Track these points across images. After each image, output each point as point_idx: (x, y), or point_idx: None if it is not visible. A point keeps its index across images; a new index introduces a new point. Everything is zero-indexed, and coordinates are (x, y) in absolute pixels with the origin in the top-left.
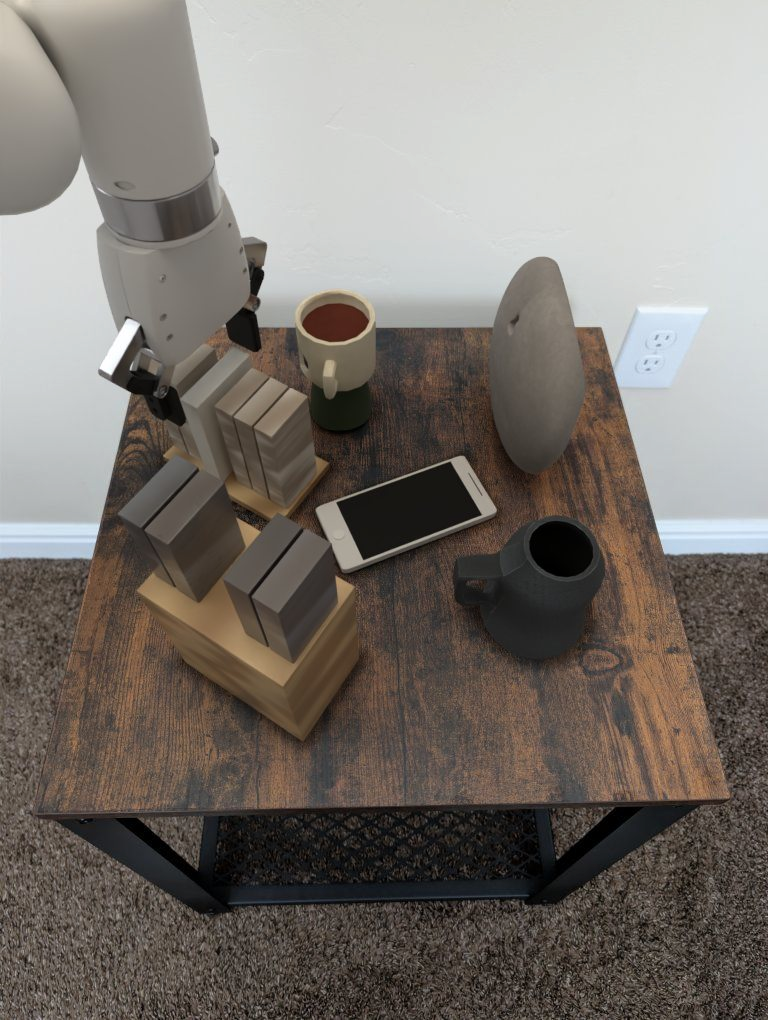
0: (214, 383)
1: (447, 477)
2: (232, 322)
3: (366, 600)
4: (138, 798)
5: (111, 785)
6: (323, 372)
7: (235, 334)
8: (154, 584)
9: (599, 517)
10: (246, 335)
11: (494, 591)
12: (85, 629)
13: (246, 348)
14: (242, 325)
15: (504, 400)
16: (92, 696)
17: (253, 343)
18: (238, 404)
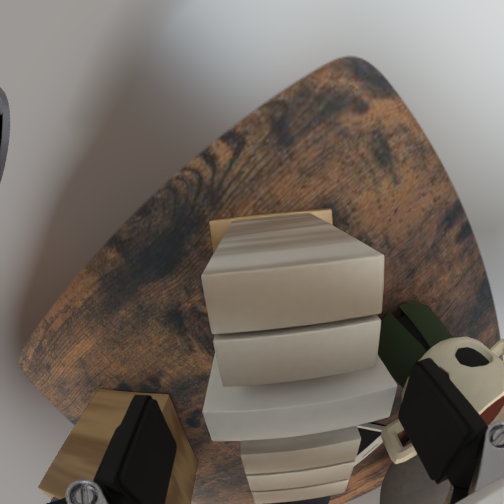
0: (286, 429)
1: (367, 439)
2: (437, 423)
3: (235, 451)
4: (51, 401)
5: (41, 387)
6: (401, 455)
7: (420, 400)
8: (51, 496)
9: (377, 477)
10: (417, 435)
11: (287, 502)
12: (51, 308)
13: (402, 401)
14: (430, 447)
15: (419, 496)
16: (42, 348)
17: (407, 435)
18: (272, 471)
